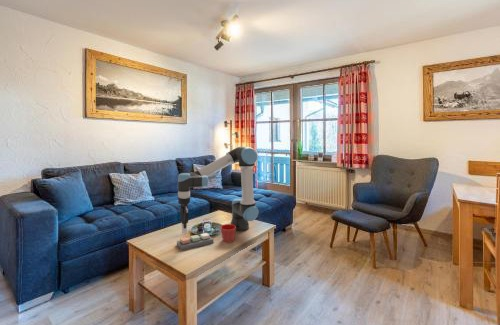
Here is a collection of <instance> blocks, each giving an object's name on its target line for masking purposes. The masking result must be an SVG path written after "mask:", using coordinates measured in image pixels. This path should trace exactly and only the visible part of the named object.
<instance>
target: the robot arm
mask: <svg viewBox="0 0 500 325" xmlns="http://www.w3.org/2000/svg"><path fill="white" fill-rule="evenodd" d="M257 160H258V153H257V151H256V150H255V149H254V148H252V147H250V146H238V147H236V148H234V149H232V150H230V151H227V152H226V154H225V155H223V156H222V157H219V158H218V159H216V160H214V161H212V162H211V163H209V164H207V165H204V166H202V167H201V168H199V169H197V170H195V171H194V172H183V173H179V174H178V175H177V191H178V192H177V196H178V197H177V201H178V202H177V203H178V204H179V214H180V215H179V216H180V221H181V233H182V234H186V233H187V232H188V231H187V230H188V228H187V225H188V223H189V216H190V215H189V214H190V209H189V206H188V205H189V204H190V203H191V188H204V187H208V185H209V178H208V177H209V176H211V175H213V174H215V173H216V172H218V171H220V170H223V169H224V168H226V167H227V166H230V165H234V164H236V163H238V167H239V168H240V178H241V180H240V182H241V184H240V185H241V198H235V199H233V200H232V201H231V209H232V210H231V216H232V217H231V221H230V224H233V225H235V226H236V230H235V232H236V231H237V232H238V231H239V232H240V231H241V232H242V231H247V230H249V229H250V223H249V222H252V221H255V220H256V219H257V218H258V216H259V211H260V210H259V209H258V207H257V205H256V200H255V199H254V171H253V170H254V167H255V165H256V164H255V163H256V162H257Z"/></svg>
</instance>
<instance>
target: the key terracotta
mask: <svg viewBox="0 0 500 325" xmlns="http://www.w3.org/2000/svg"><path fill="white" fill-rule="evenodd" d="M189 238H190V237H188V236H185V237H182V238H180V242H181V243H182V244H186V243H190V239H189Z"/></svg>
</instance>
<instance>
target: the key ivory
mask: <svg viewBox="0 0 500 325" xmlns="http://www.w3.org/2000/svg"><path fill="white" fill-rule="evenodd" d="M199 236H200V237H201V238H202V239H203V240H204V239H208V238H210V237H211V236H210V234H209V233H208V232H204V233H203V232H202V233H200V234H199Z"/></svg>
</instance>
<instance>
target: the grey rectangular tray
mask: <svg viewBox="0 0 500 325" xmlns="http://www.w3.org/2000/svg"><path fill="white" fill-rule="evenodd" d="M198 236H199V237H200V235H198ZM188 238H189V239H190V243H186V244H182V243H181V242H180V240H176V246H177V247H178V248H179V250H181V251H185V250H189V249H193V248H198V247H201V246H206V245H211V244H214V238H212V237H211V236H210V238H208V239H204V240H203V239H202V238H201V237H200V240H199V241H195V242H193V241H192V240H191V237H188Z"/></svg>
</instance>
